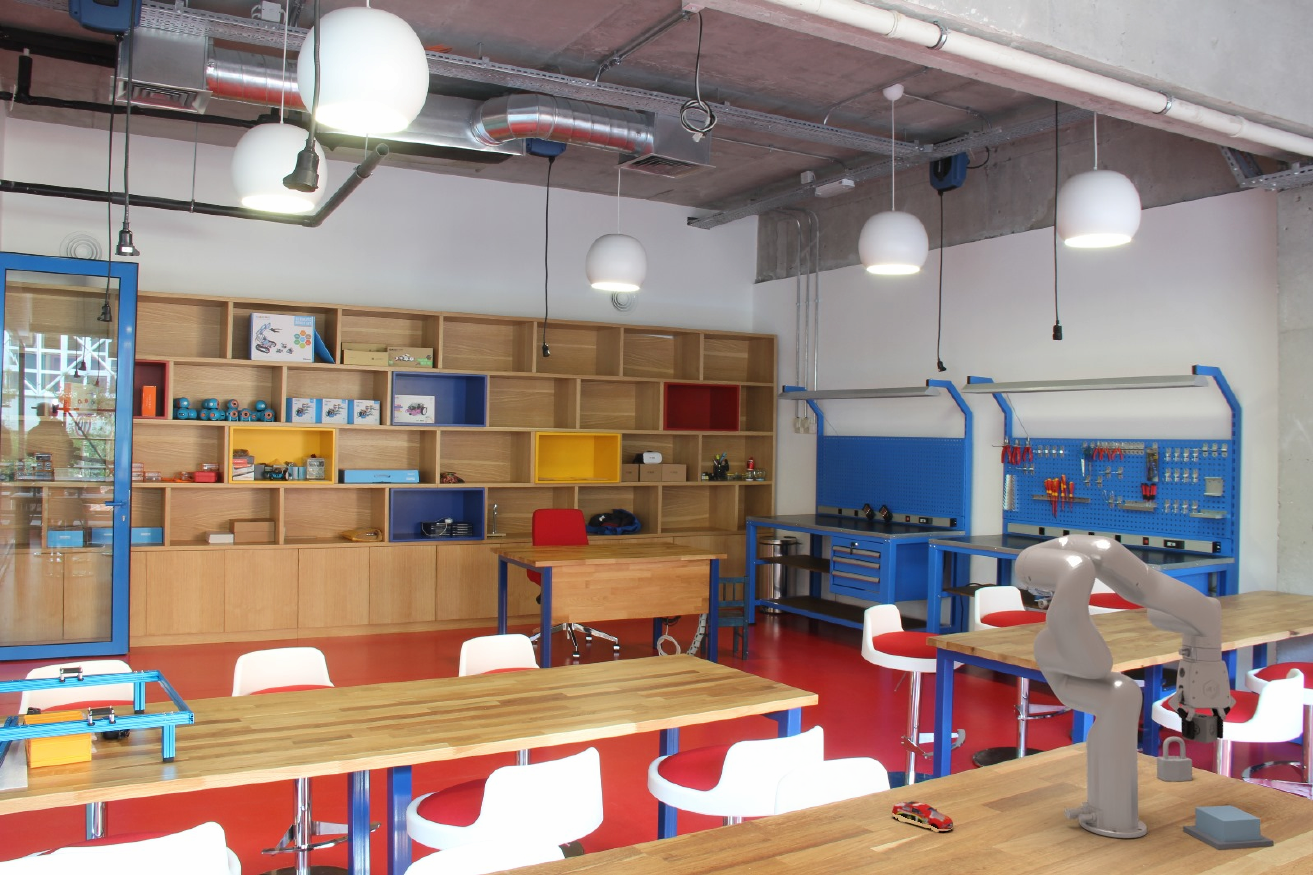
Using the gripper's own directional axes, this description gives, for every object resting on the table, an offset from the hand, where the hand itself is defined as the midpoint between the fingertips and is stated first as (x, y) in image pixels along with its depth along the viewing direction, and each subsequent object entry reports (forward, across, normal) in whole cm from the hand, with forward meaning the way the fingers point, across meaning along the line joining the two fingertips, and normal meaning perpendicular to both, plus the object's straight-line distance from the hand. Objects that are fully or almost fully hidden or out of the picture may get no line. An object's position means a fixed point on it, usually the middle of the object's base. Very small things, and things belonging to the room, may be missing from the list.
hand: (1202, 736), depth 219 cm
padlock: (+15, +7, +19) cm, 26 cm away
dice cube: (+1, 0, 0) cm, 1 cm away
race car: (+16, -64, +1) cm, 66 cm away
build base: (+15, -8, -17) cm, 24 cm away
